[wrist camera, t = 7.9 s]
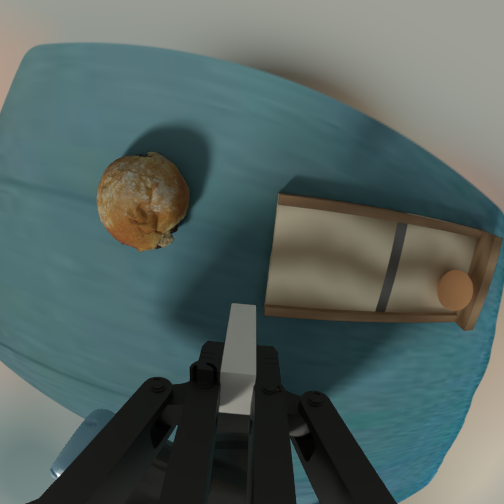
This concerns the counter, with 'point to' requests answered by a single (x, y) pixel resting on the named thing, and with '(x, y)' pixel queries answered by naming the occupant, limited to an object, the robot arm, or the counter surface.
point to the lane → (371, 263)
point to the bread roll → (142, 200)
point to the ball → (455, 290)
